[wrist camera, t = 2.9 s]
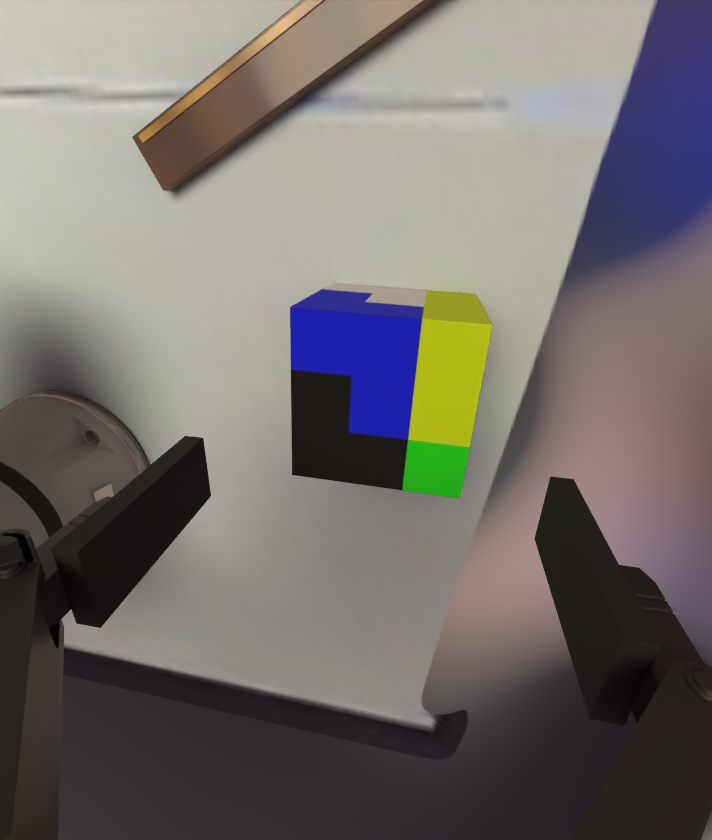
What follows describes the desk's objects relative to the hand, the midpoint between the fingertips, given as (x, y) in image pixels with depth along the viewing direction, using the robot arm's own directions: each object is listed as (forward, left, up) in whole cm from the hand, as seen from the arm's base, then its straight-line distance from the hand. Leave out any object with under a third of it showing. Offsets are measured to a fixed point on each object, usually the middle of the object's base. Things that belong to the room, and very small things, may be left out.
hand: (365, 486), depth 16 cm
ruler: (-5, +19, -18) cm, 26 cm away
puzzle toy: (0, 0, -18) cm, 18 cm away
